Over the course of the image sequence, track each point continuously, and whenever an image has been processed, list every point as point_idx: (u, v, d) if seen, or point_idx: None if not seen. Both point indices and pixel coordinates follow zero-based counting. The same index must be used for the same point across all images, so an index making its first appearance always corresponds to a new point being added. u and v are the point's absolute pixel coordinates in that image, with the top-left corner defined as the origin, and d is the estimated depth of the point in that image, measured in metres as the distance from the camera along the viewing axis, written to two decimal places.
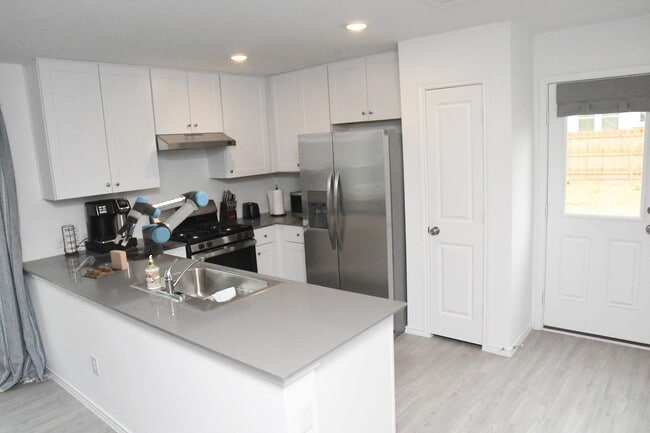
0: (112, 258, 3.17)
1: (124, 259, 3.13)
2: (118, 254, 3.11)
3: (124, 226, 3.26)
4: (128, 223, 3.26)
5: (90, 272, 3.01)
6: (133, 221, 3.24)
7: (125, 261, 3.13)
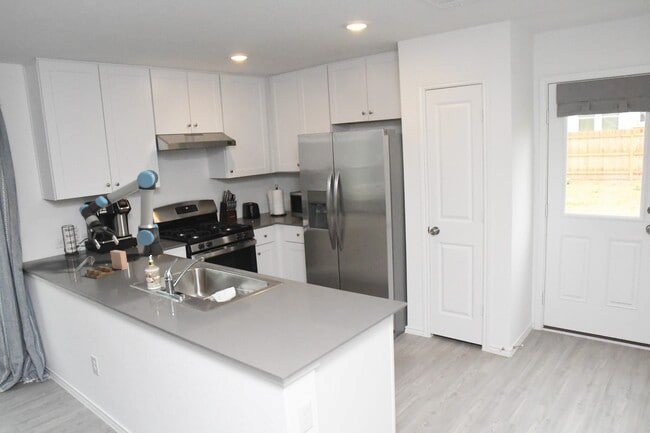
0: (112, 258, 3.17)
1: (124, 259, 3.13)
2: (118, 254, 3.11)
3: (102, 232, 3.27)
4: None
5: (90, 272, 3.01)
6: (90, 227, 3.23)
7: (125, 261, 3.13)
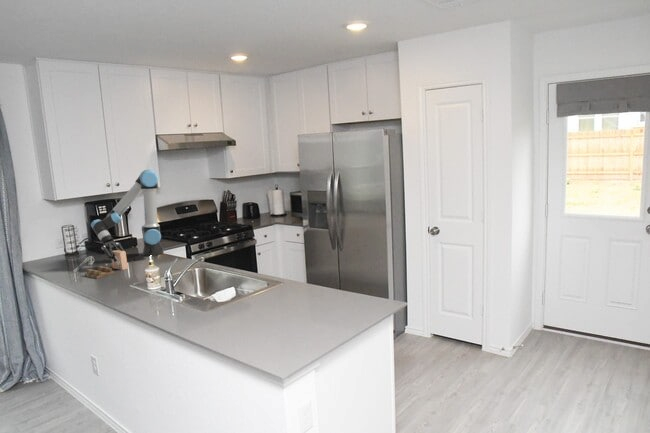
0: None
1: (124, 259, 3.13)
2: (118, 254, 3.11)
3: (113, 248, 3.20)
4: None
5: (90, 272, 3.01)
6: None
7: (125, 261, 3.13)
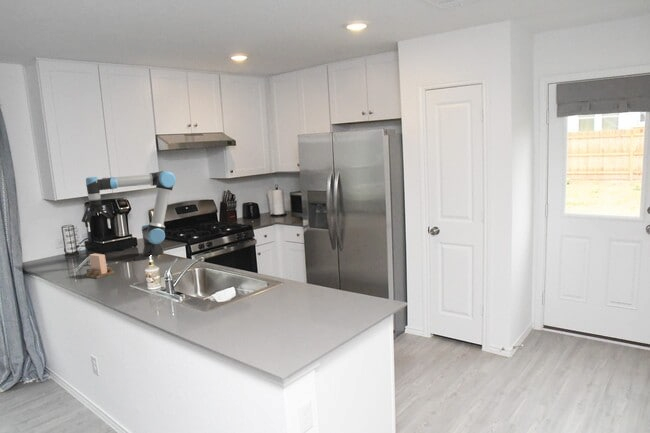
0: (91, 262, 3.03)
1: (103, 263, 2.99)
2: (97, 258, 2.98)
3: None
4: None
5: (90, 272, 3.01)
6: (89, 204, 3.14)
7: (104, 265, 3.00)
